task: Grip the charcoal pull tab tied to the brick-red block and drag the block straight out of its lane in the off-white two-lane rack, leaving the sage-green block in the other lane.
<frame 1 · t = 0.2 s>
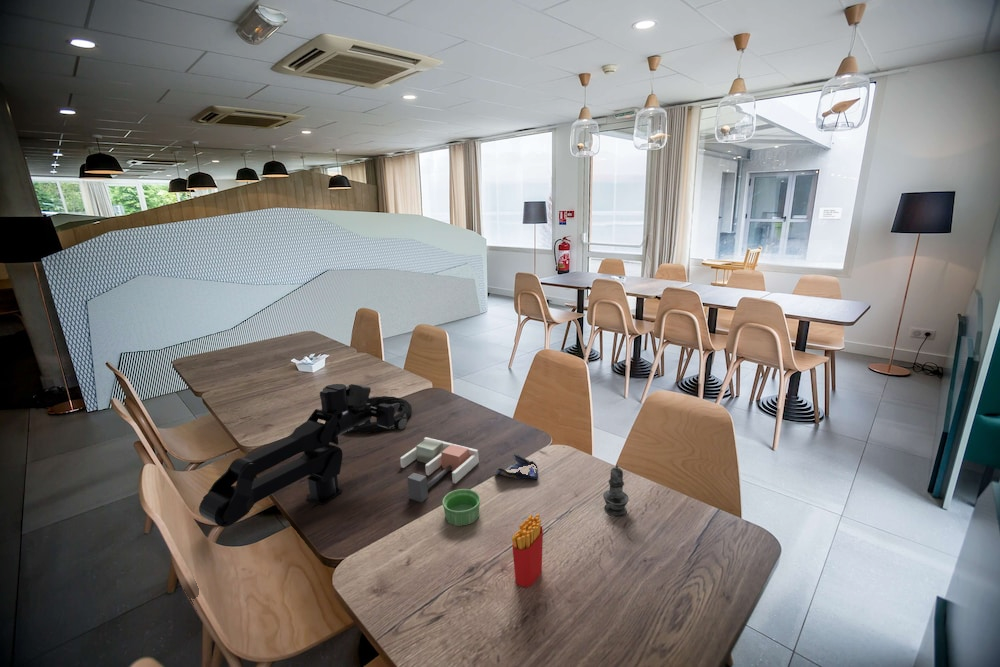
hand: (387, 401, 134), 17 cm above the table, tool horizontal, fingers open, 9 cm apart
french fries: (528, 576, 88), on the table
lane rack: (439, 465, 129), on the table
ramekin: (462, 516, 107), on the table
dark chess piece: (615, 510, 107), on the table
sage block: (430, 459, 133), resting in lane rack
cable lock: (376, 419, 163), on the table
tethered block: (455, 466, 129), on the table
snack package: (518, 476, 124), on the table
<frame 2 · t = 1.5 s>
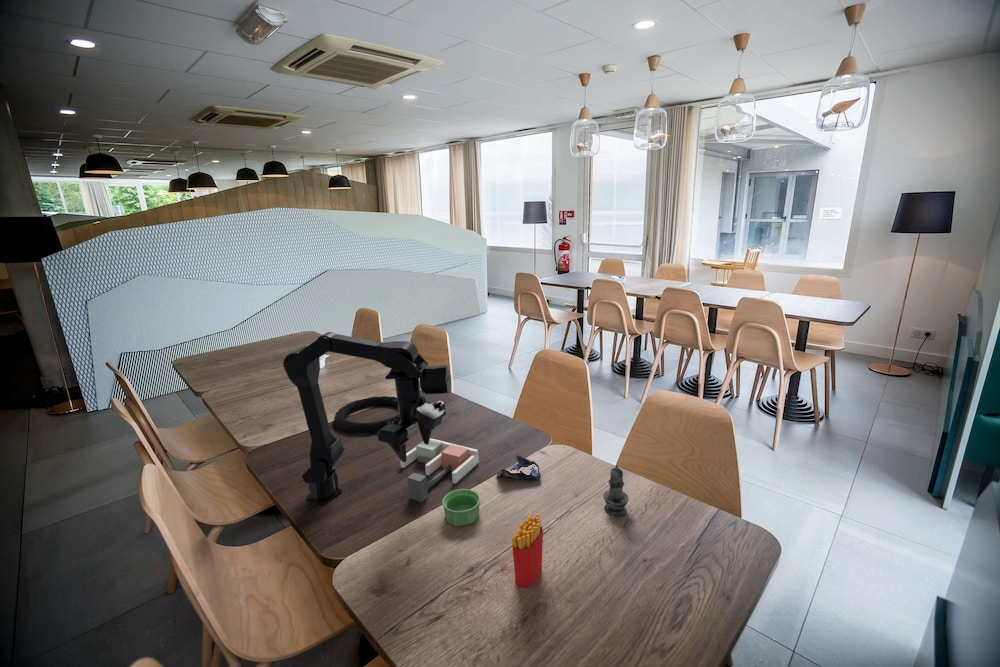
hand: (415, 452, 112), 12 cm above the table, tool pointing down, fingers open, 9 cm apart
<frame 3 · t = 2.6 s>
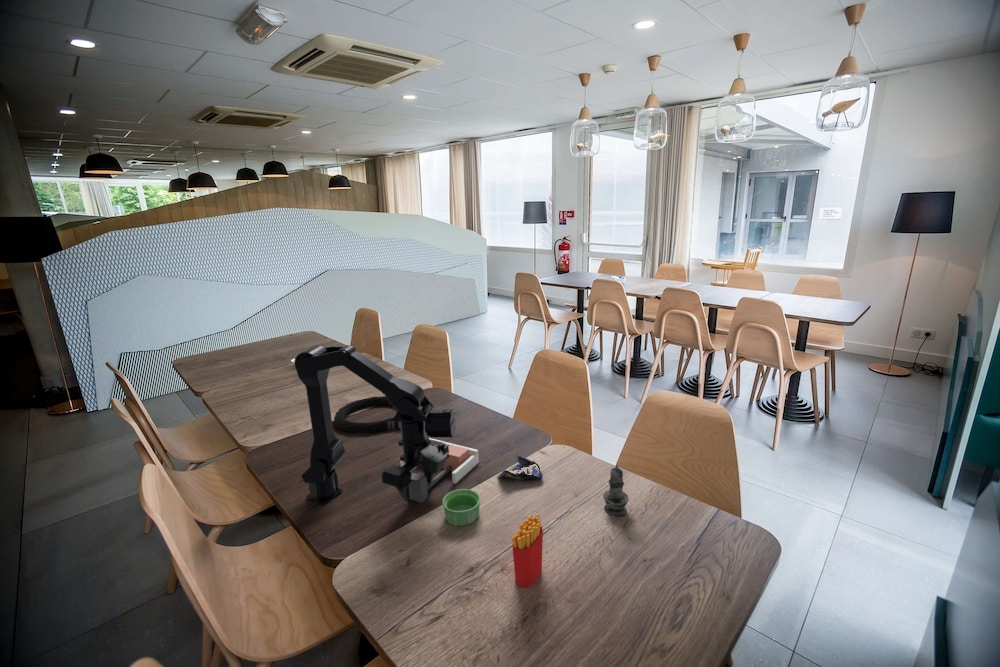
hand: (418, 491, 114), 2 cm above the table, tool pointing down, fingers open, 8 cm apart
tethered block: (455, 466, 129), on the table, touching gripper
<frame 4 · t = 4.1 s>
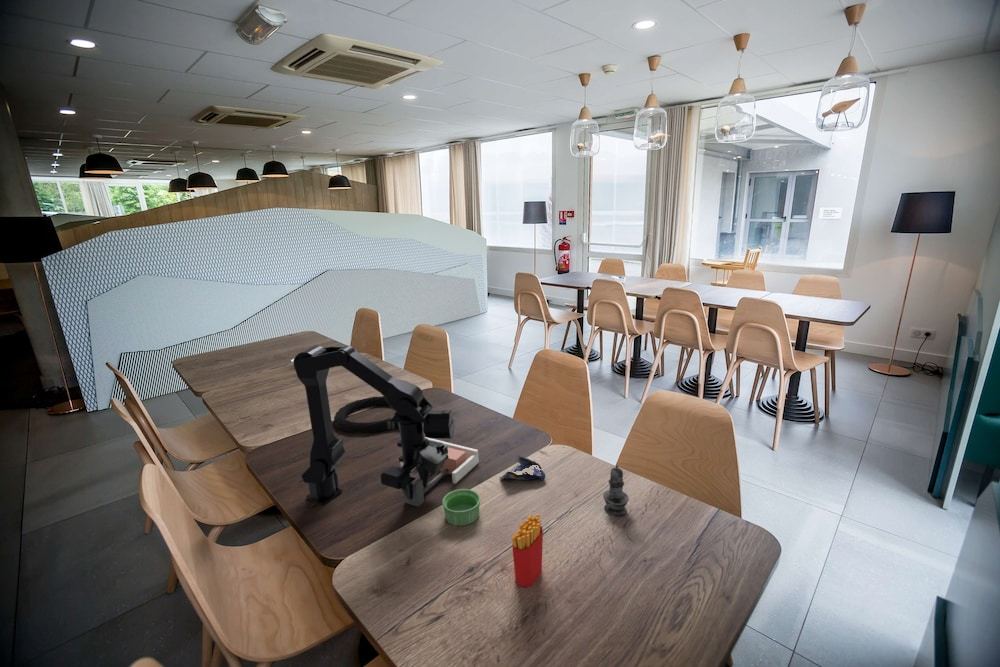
hand: (417, 492, 114), 2 cm above the table, tool pointing down, fingers closed on tethered block, 5 cm apart
tethered block: (452, 469, 127), on the table, touching gripper
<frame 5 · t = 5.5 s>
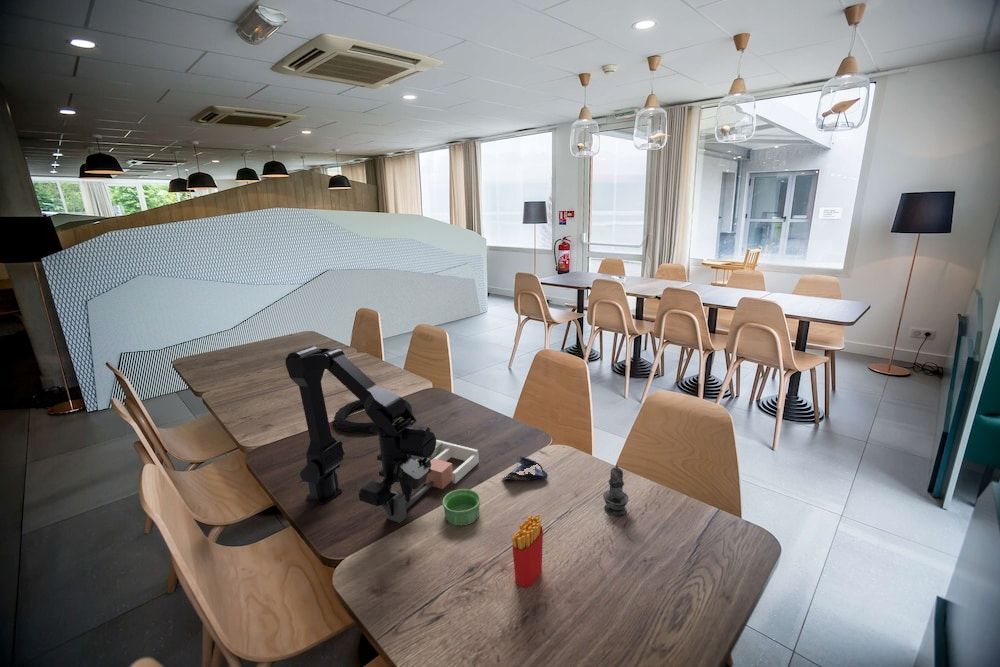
hand: (399, 508, 108), 2 cm above the table, tool pointing down, fingers open, 6 cm apart
tethered block: (438, 481, 121), on the table, touching gripper
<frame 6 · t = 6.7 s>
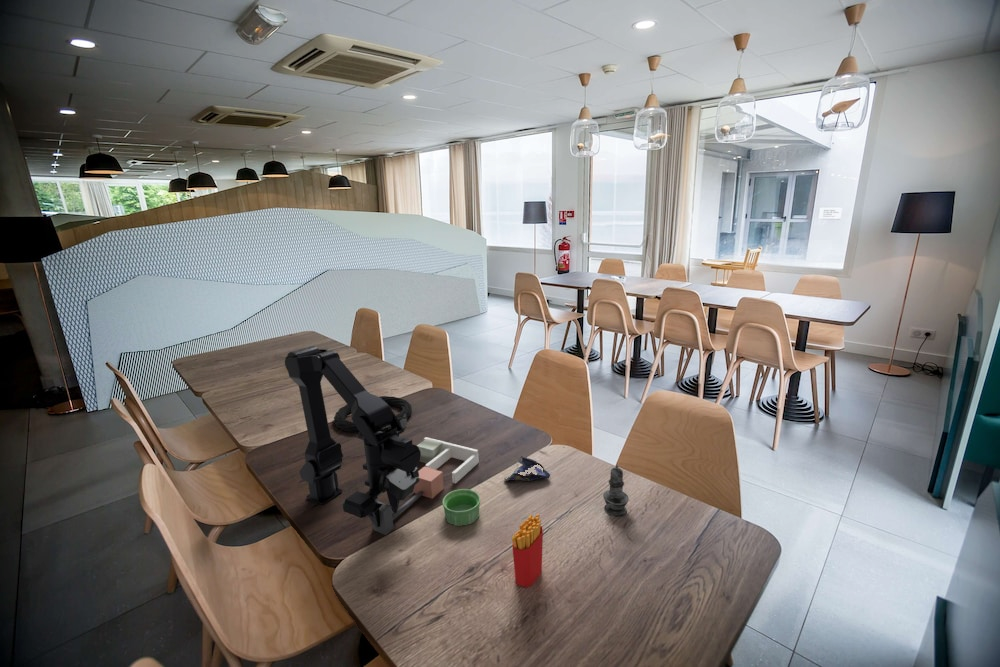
hand: (386, 519, 104), 2 cm above the table, tool pointing down, fingers closed on tethered block, 5 cm apart
tethered block: (428, 490, 117), on the table, touching gripper
when the fingers open (2 cm above the table, at t = 7.8 s): tethered block moves 2 cm, on the table.
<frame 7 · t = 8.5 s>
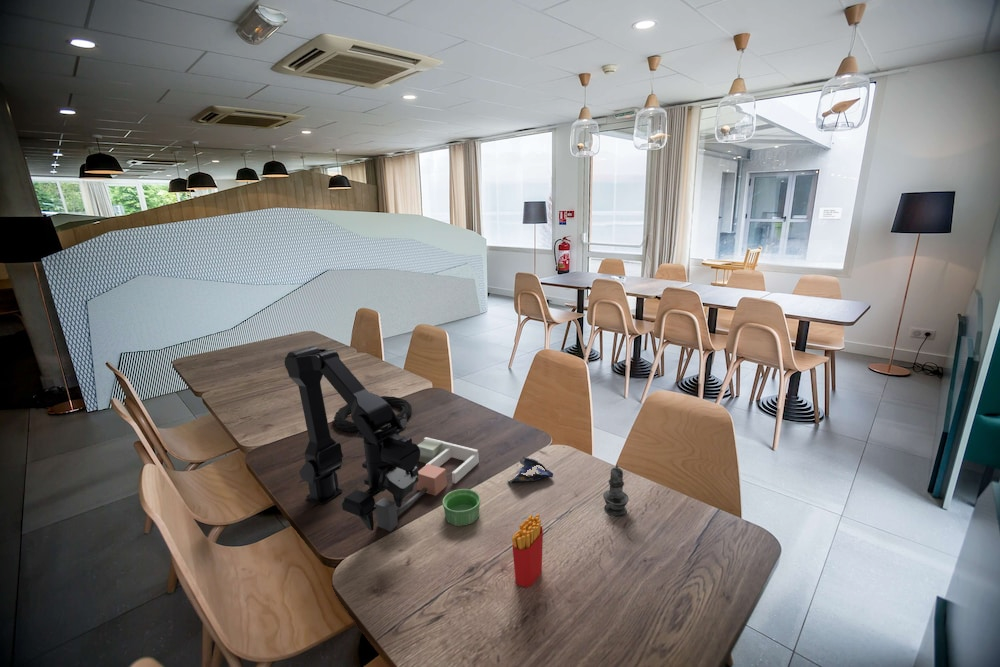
hand: (385, 518, 104), 2 cm above the table, tool pointing down, fingers open, 9 cm apart
tethered block: (432, 487, 119), on the table
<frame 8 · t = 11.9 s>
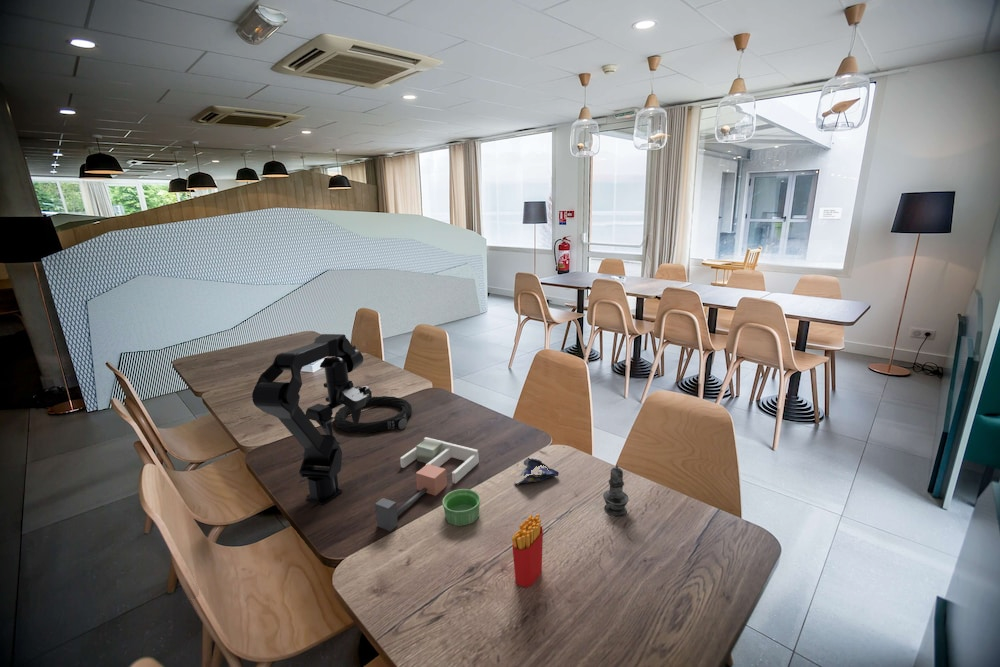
hand: (343, 431, 126), 12 cm above the table, tool pointing down, fingers open, 9 cm apart
snack package: (535, 479, 122), on the table
everything else where it was.
at the end: tethered block inside the target area (2.2 cm from its centre), on the table; tethered block tilted 0°; sage block moved 0.2 cm from its start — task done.
